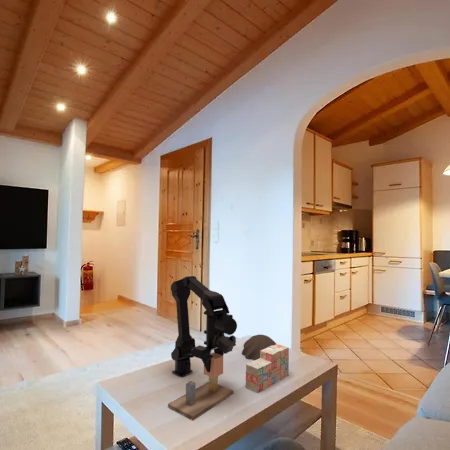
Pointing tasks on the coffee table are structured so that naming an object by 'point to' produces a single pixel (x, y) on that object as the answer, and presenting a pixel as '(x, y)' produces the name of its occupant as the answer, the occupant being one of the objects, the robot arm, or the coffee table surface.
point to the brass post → (213, 384)
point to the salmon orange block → (215, 366)
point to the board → (201, 401)
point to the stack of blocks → (268, 368)
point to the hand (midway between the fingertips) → (213, 369)
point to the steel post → (190, 393)
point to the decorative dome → (256, 346)
